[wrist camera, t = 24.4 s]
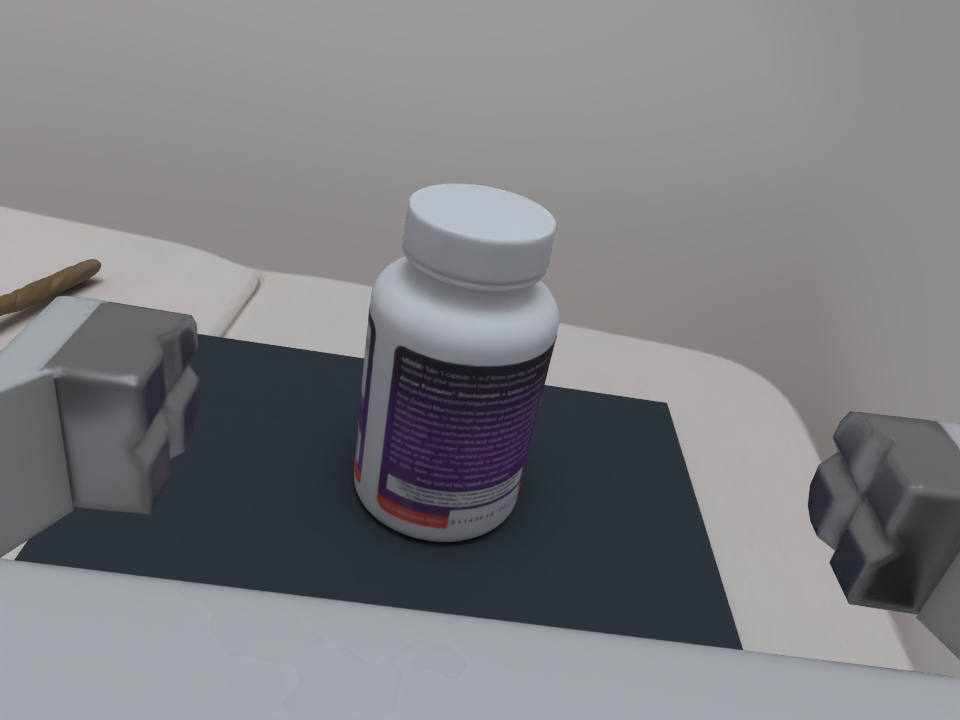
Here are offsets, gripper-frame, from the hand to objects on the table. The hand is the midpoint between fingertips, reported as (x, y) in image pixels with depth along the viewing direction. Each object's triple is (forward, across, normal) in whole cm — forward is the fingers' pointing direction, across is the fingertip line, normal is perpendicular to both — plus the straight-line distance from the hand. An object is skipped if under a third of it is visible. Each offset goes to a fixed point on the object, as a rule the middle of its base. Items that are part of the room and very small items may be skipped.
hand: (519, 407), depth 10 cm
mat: (+12, +1, +12) cm, 17 cm away
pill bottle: (+12, 0, +12) cm, 17 cm away
